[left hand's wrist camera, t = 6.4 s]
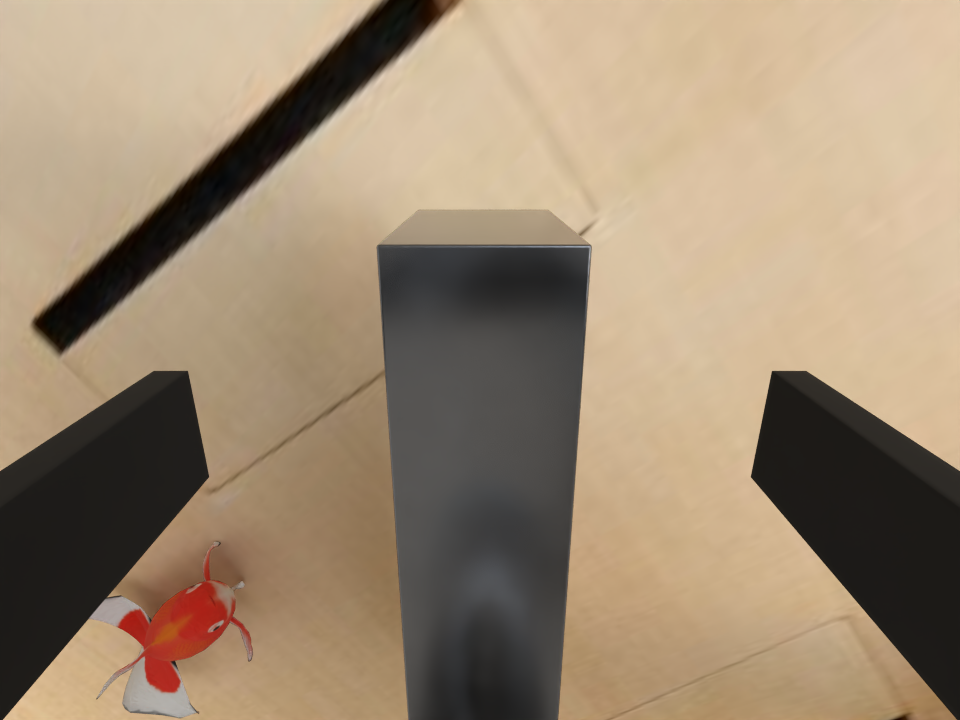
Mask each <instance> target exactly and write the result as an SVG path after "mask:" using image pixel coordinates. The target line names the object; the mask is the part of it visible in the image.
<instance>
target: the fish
mask: <svg viewBox="0 0 960 720" xmlns="http://www.w3.org/2000/svg"><path fill="white" fill-rule="evenodd" d="M219 545H220V542H214V543H213V545H212V546H211V547H210V549H209V550H208V551H207V554H206V556H205V559H204V562H203V575H204V581H205V582H201V583H198V584H196V585H194V586H191V587H189V588H187V589H185V590H183V591H180V592H179V593H177V594H176V595H175V596H173V597H172V598H171V599H169V600H168V601H167V602H165V603H164V604H163V605H162V607H161V608H160V609H159V611H158V612H157V613H156V614H155V616H154V617H153V619H152V620H151V619H150V618H149V616H148V615H147V614H146V613H145V612H144V610H143V609H142V608H141V607H140V606H138V605H137V604H135V603H133V602H132V601H130V600H128V599H126V598H124V597H123V596H114V597H108V598H106V599H105V600H104V601H103V602H102V604H101V605H100V606H99V607H98V608H97V609H96V611H95V612H94V613H93V614H92V615H91V617H90V618H89V619H94V620H98V621H102V622H106V623H109V624H111V625H114V626H116V627H118V628H120V629H122V630H124V631H126V632H127V633H129V634H130V635H131V636H133V637H134V638H135V639H136V640H137V641H138V642H140V643H141V645H142V646H143V647H142V649H141V651H140V654H139V656H138V657H137V658H136V659H135V660H134V661H133V662H132V663H130V664H129V665H127V666H126V667H124V668H122V669H120V670H119V671H117V672H116V673H114V674H113V675H112V677H111V678H110V679H109V680H108V681H107V683H106V684H105V685H104V687H103V688H102V690H101V692H100V694H99V695H98V697H97V699H98V698H99V696H100V695H101V694H102V693H103V692H104V691H105V690H106V688H107V687H108V686H109V685H110V684H111V683H112V682H113V681H114V680H115V679H116V678H117V677H118V676H120V675H121V674H123V673H125V672H127V671H128V670H130V669H131V668H133V670H132V672H131V675H130V677H129V680H128V683H127V685H126V689H125V693H124V697H123V702H122V704H123V706H124V708H125V709H126V710H127V711H129V712H130V713H142V714H155V715H165V716H171V717H177V718H182V717H185V716H188V715H191V714H194V713H198V714H199V712H198V711H196V710H195V709H194V708H193V707H192V705H191V704H190V701H189V699H188V696H187V693H186V690H185V688H184V685H183V682H182V679H181V677H180V674H179V671H178V668H177V665H176V663H175V660H181V659H185V658H189V657H192V656H194V655H195V654H197V653H199V652H201V651H203V650H205V649H206V648H207V647H208V646H209V645H211V644H212V643H213V642H214V641H215V640H216V639H218V638H219V637H220V636H221V634H222V633H223V631H224V630H225V629H226V627H227V626H228V624H229V622H230V623H232V624H234V625H236V626H237V627H239V629H240V631H241V634H242V638H243V641H244V644H245V647H246V649H247V652H248V661H251V659H252V655H253V651H252V646H251V637H250V634H249V632H248V631H247V630H246V628H245V627H244V625H243V624H242V623H241V622H239V621H238V620H237V619H236V618H234V617H233V613H234V611H235V595H234V590H235V589H240V588H242V587H244V586H245V584H244V583H243V581H241V582H239V583H238V584H236V585H235V586H233V587H232V588H230V587H229V586H228V585H227V584H224V583H222V582H220V581H215V580H211V579H210V570H209V555H210V551H211V550H212V549H213V548H214V547H217V546H219Z"/></svg>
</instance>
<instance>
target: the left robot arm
mask: <svg viewBox="0 0 960 720" xmlns="http://www.w3.org/2000/svg"><path fill="white" fill-rule="evenodd" d="M208 478H209V474H208V469H207V464H206V459H205V454H204V449H203V444H202V439H201V434H200V429H199V424H198V419H197V414H196V409H195V404H194V399H193V394H192V389H191V384H190V379H189V374H188V371H153V372H152V373H150V374H149V375H147V376H145V377H144V378H142V379H141V380H139V381H138V382H136V383H135V384H133V385H132V386H130V387H129V388H127V389H126V390H124V391H122V392H121V393H119V394H118V395H116V396H115V397H113V398H112V399H110V400H109V401H107V402H106V403H104V404H103V405H101V406H99V407H98V408H96V409H95V410H93V411H92V412H90V413H89V414H87V415H86V416H84V417H83V418H81V419H80V420H78V421H77V422H75V423H73V424H72V425H70V426H69V427H67V428H66V429H64V430H63V431H61V432H60V433H58V434H57V435H55V436H54V437H52V438H50V439H49V440H47V441H46V442H44V443H43V444H41V445H40V446H38V447H37V448H35V449H34V450H32V451H31V452H29V453H27V454H26V455H24V456H23V457H21V458H20V459H18V460H17V461H15V462H14V463H12V464H11V465H9V466H8V467H6V468H4V469H3V470H1V471H0V720H3V719H4V718H5V717H6V715H7V714H8V713H9V712H10V711H11V709H12V708H13V707H14V706H15V705H16V704H17V702H18V701H19V700H20V699H21V698H22V697H23V695H24V694H25V693H26V692H27V691H28V689H29V688H30V687H31V686H32V685H33V684H34V682H35V681H36V680H37V679H38V678H39V677H40V675H41V674H42V673H43V672H44V671H45V669H46V668H47V667H48V666H49V665H50V664H51V662H52V661H53V660H54V659H55V658H56V657H57V655H58V654H59V653H60V652H61V651H62V649H63V648H64V647H65V646H66V645H67V644H68V642H69V641H70V640H71V639H72V638H73V637H74V635H75V634H76V633H77V632H78V631H79V629H80V628H81V627H82V626H83V625H84V624H85V622H86V621H87V620H88V619H89V618H90V617H91V615H92V614H93V613H94V612H95V611H96V609H97V608H98V607H99V606H100V605H101V604H102V602H103V601H104V600H105V599H106V598H107V597H108V595H109V594H110V593H111V592H112V591H113V589H114V588H115V587H116V586H117V585H118V584H119V582H120V581H121V580H122V579H123V578H124V577H125V575H126V574H127V573H128V572H129V571H130V569H131V568H132V567H133V566H134V565H135V564H136V562H137V561H138V560H139V559H140V558H141V557H142V555H143V554H144V553H145V552H146V551H147V549H148V548H149V547H150V546H151V545H152V544H153V542H154V541H155V540H156V539H157V538H158V537H159V535H160V534H161V533H162V532H163V531H164V529H165V528H166V527H167V526H168V525H169V524H170V522H171V521H172V520H173V519H174V518H175V517H176V515H177V514H178V513H179V512H180V511H181V509H182V508H183V507H184V506H185V505H186V504H187V502H188V501H189V500H190V499H191V498H192V497H193V495H194V494H195V493H196V492H197V491H198V489H199V488H200V487H201V486H202V485H203V484H204V482H205V481H206V480H207V479H208ZM751 478H752V479H753V480H754V481H755V482H756V484H757V485H758V486H759V487H760V488H761V489H762V491H763V492H764V493H765V494H766V495H767V497H768V498H769V499H770V500H771V501H772V502H773V504H774V505H775V506H776V507H777V508H778V509H779V511H780V512H781V513H782V514H783V515H784V517H785V518H786V519H787V520H788V521H789V522H790V524H791V525H792V526H793V527H794V528H795V529H796V531H797V532H798V533H799V534H800V535H801V537H802V538H803V539H804V540H805V541H806V542H807V544H808V545H809V546H810V547H811V548H812V549H813V551H814V552H815V553H816V554H817V555H818V557H819V558H820V559H821V560H822V561H823V562H824V564H825V565H826V566H827V567H828V568H829V569H830V571H831V572H832V573H833V574H834V575H835V577H836V578H837V579H838V580H839V581H840V582H841V584H842V585H843V586H844V587H845V588H846V589H847V591H848V592H849V593H850V594H851V595H852V597H853V598H854V599H855V600H856V601H857V602H858V604H859V605H860V606H861V607H862V608H863V609H864V611H865V612H866V613H867V614H868V615H869V617H870V618H871V619H872V620H873V621H874V622H875V624H876V625H877V626H878V627H879V628H880V629H881V631H882V632H883V633H884V634H885V635H886V637H887V638H888V639H889V640H890V641H891V642H892V644H893V645H894V646H895V647H896V648H897V649H898V651H899V652H900V653H901V654H902V655H903V657H904V658H905V659H906V660H907V661H908V662H909V664H910V665H911V666H912V667H913V668H914V669H915V671H916V672H917V673H918V674H919V675H920V677H921V678H922V679H923V680H924V681H925V682H926V684H927V685H928V686H929V687H930V688H931V689H932V691H933V692H934V693H935V694H936V695H937V697H938V698H939V699H940V700H941V701H942V702H943V704H944V705H945V706H946V707H947V708H948V709H949V711H950V712H951V713H952V714H953V715H954V717H955V718H956V719H957V720H960V471H959V470H957V469H956V468H954V467H952V466H951V465H949V464H948V463H946V462H945V461H943V460H942V459H940V458H939V457H937V456H936V455H934V454H933V453H931V452H929V451H928V450H926V449H925V448H923V447H922V446H920V445H919V444H917V443H916V442H914V441H913V440H911V439H910V438H908V437H906V436H905V435H903V434H902V433H900V432H899V431H897V430H896V429H894V428H893V427H891V426H890V425H888V424H887V423H885V422H883V421H882V420H880V419H879V418H877V417H876V416H874V415H873V414H871V413H870V412H868V411H867V410H865V409H864V408H862V407H861V406H859V405H857V404H856V403H854V402H853V401H851V400H850V399H848V398H847V397H845V396H844V395H842V394H841V393H839V392H838V391H836V390H834V389H833V388H831V387H830V386H828V385H827V384H825V383H824V382H822V381H821V380H819V379H818V378H816V377H815V376H813V375H811V374H810V373H808V372H807V371H772V374H771V379H770V384H769V389H768V394H767V399H766V404H765V409H764V414H763V419H762V424H761V429H760V434H759V439H758V444H757V449H756V454H755V459H754V464H753V469H752V474H751Z"/></svg>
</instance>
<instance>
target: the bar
mask: <svg viewBox="0 0 960 720" xmlns="http://www.w3.org/2000/svg"><path fill="white" fill-rule="evenodd" d="M591 250H592V247H591V245H590V244H589V243H588V242H587V241H585V240H584V239H583V238H582V237H580V236H579V235H578V234H577V233H576V232H574V231H573V230H572V229H571V228H570V227H568V226H567V225H566V224H565V223H564V222H562V221H561V220H560V219H559V218H558V217H556V216H555V215H554V214H553V213H552V212H550V211H549V210H418V211H416V212H415V213H414V214H413V215H412V216H411V217H410V218H408V219H407V220H406V221H405V222H404V223H403V224H401V225H400V226H399V227H398V228H397V229H396V230H394V231H393V232H392V233H391V234H390V235H389V236H388V237H386V238H385V239H384V240H383V241H382V242H381V243H379V244H378V245H377V259H378V274H379V289H380V304H381V319H382V334H383V349H384V364H385V379H386V394H387V409H388V424H389V439H390V454H391V469H392V484H393V499H394V513H395V528H396V543H397V558H398V573H399V588H400V603H401V618H402V633H403V648H404V663H405V678H406V693H407V708H408V720H558V714H559V699H560V685H561V671H562V657H563V643H564V629H565V615H566V601H567V587H568V573H569V559H570V545H571V531H572V517H573V503H574V489H575V475H576V461H577V447H578V433H579V419H580V404H581V390H582V376H583V362H584V348H585V334H586V320H587V306H588V292H589V278H590V264H591Z"/></svg>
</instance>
